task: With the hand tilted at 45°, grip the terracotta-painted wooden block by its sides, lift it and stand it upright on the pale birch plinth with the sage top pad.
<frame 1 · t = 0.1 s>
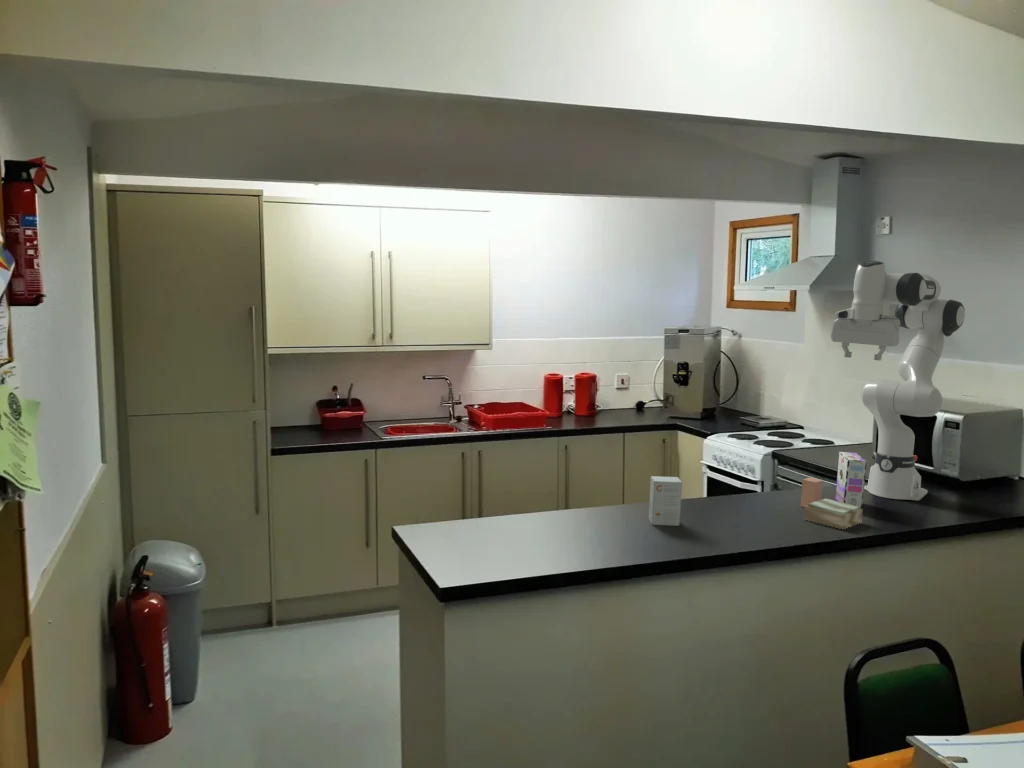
hand: (862, 358, 251), 48 cm above the worktop, tool pointing down, fingers open, 8 cm apart
terracotta block: (810, 507, 257), on the worktop
small box: (663, 523, 234), on the worktop
candy box: (848, 506, 261), on the worktop
birch plinth: (832, 521, 242), on the worktop
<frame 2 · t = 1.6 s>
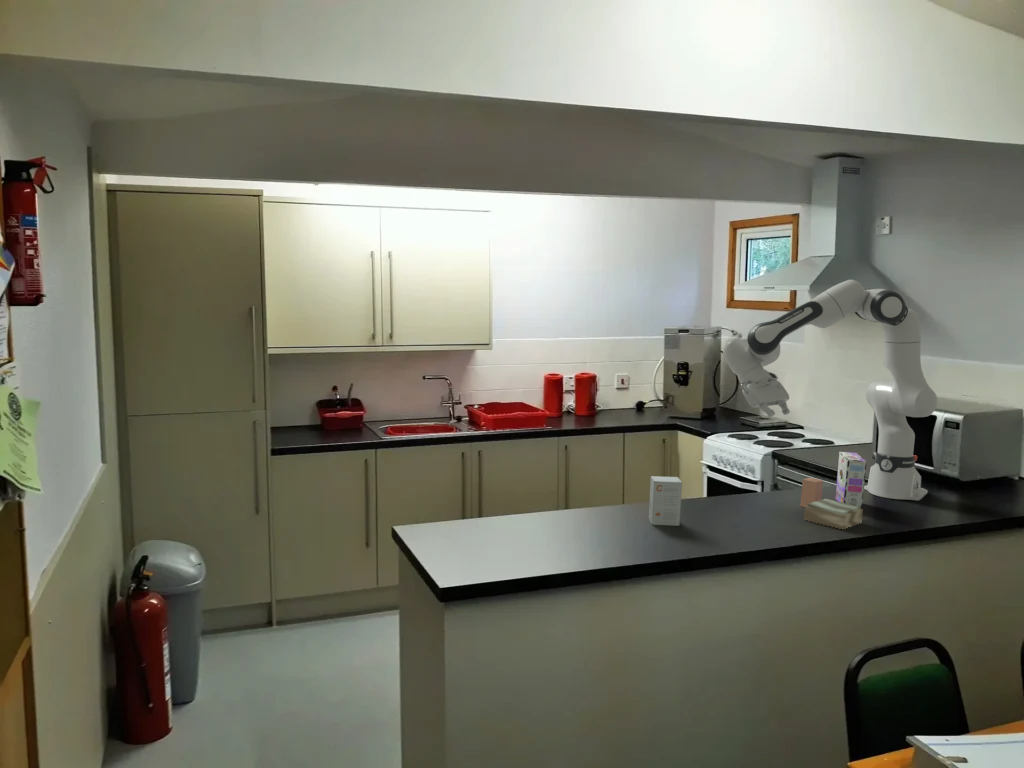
hand: (780, 414, 263), 28 cm above the worktop, tool tilted 45°, fingers open, 8 cm apart
nothing on the worktop moved.
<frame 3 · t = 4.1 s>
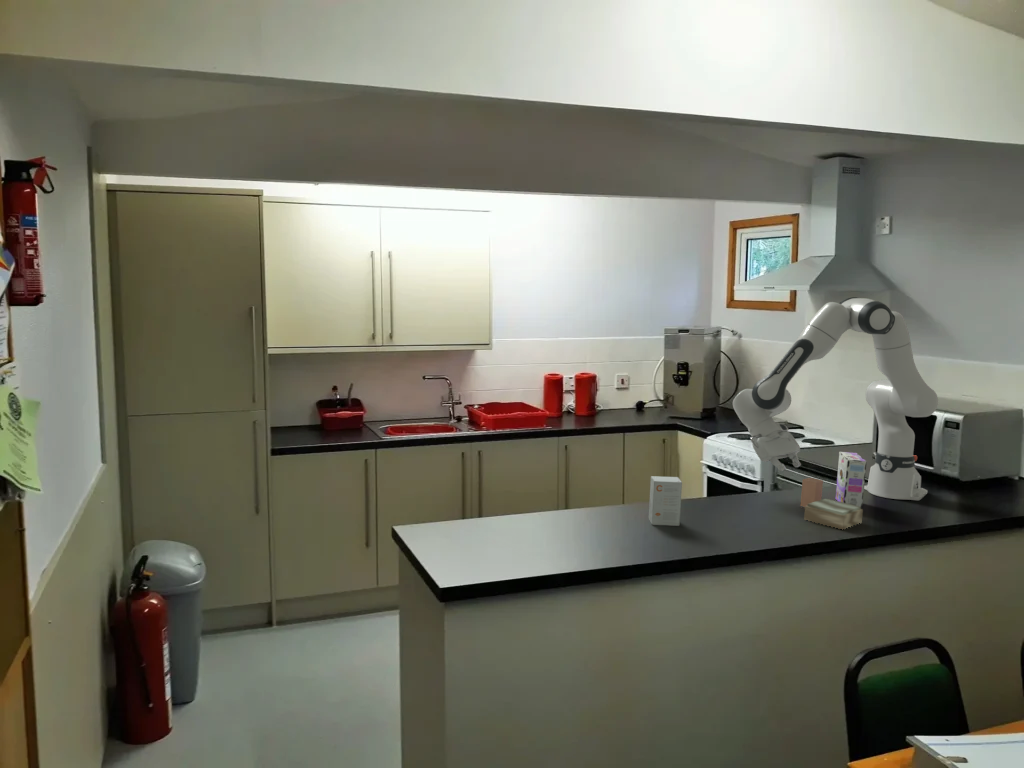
hand: (790, 468, 261), 11 cm above the worktop, tool tilted 45°, fingers open, 8 cm apart
nothing on the worktop moved.
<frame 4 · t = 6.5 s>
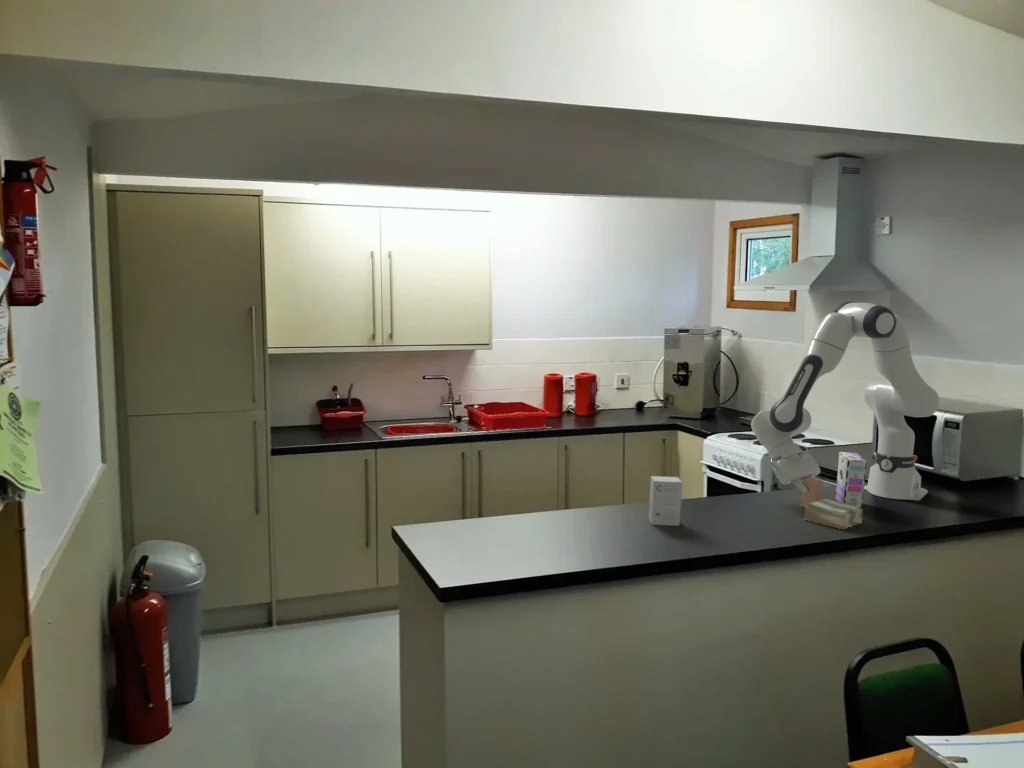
hand: (811, 490, 256), 5 cm above the worktop, tool tilted 45°, fingers closed on terracotta block, 4 cm apart
terracotta block: (810, 507, 257), on the worktop, touching gripper
everything else where it was.
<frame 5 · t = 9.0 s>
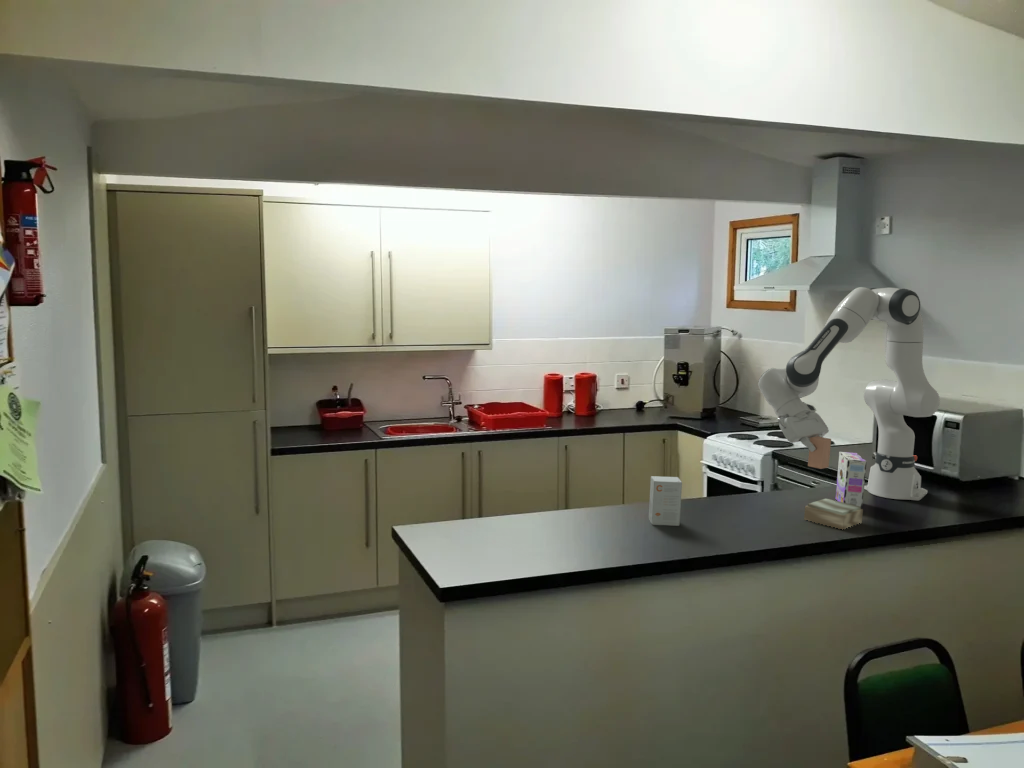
hand: (819, 449, 251), 19 cm above the worktop, tool tilted 45°, fingers closed on terracotta block, 4 cm apart
terracotta block: (818, 466, 252), point 14 cm above the worktop, touching gripper
everything else where it was.
when the fingers open (12 cm above the worktop, at t = 11.8 s): terracotta block drops 1 cm, resting on birch plinth.
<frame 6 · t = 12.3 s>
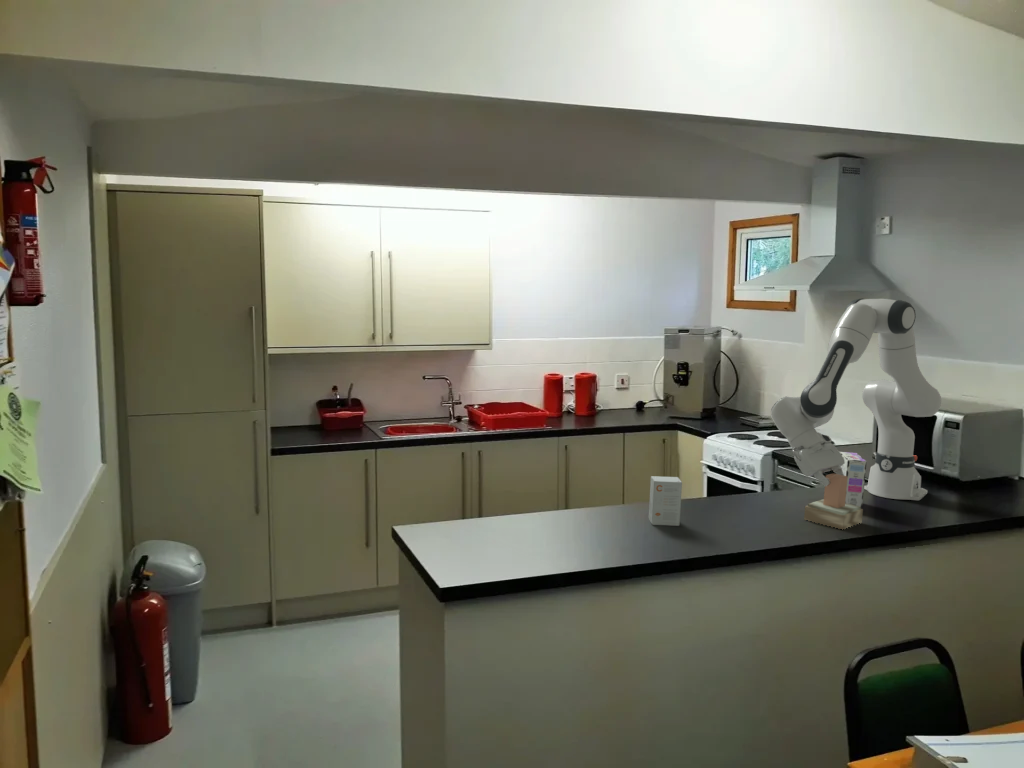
hand: (835, 482, 241), 12 cm above the worktop, tool tilted 45°, fingers open, 8 cm apart
terracotta block: (834, 505, 241), point 5 cm above the worktop, touching birch plinth
everything else where it was.
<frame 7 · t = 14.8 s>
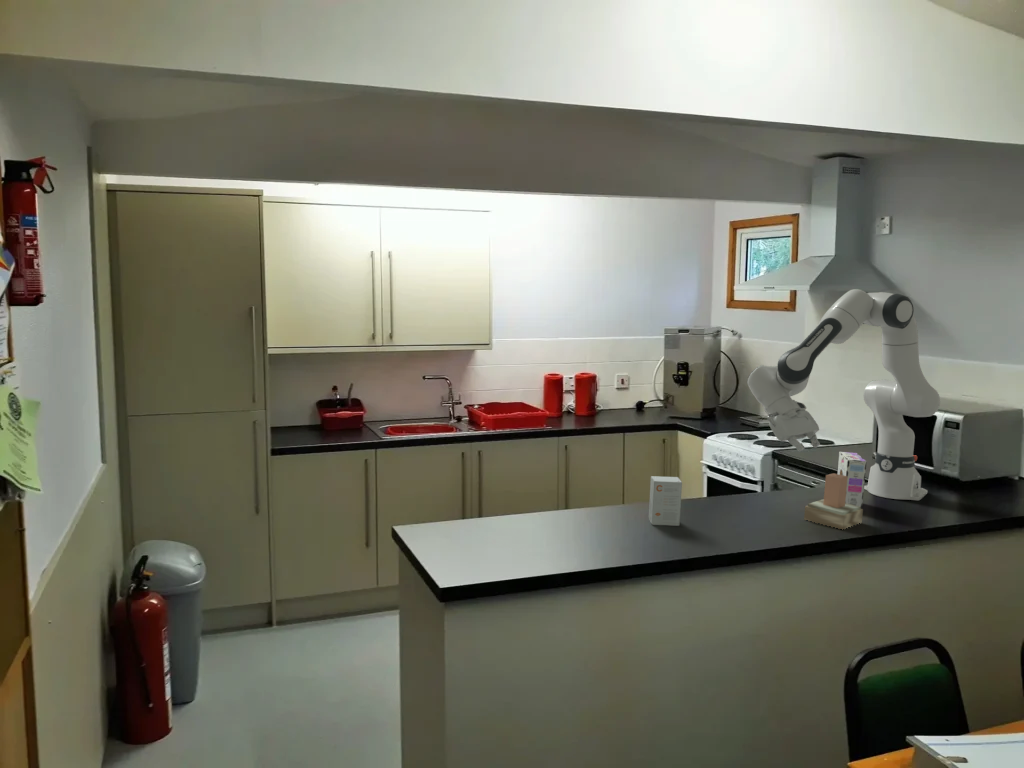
hand: (809, 448, 246), 21 cm above the worktop, tool tilted 45°, fingers open, 8 cm apart
nothing on the worktop moved.
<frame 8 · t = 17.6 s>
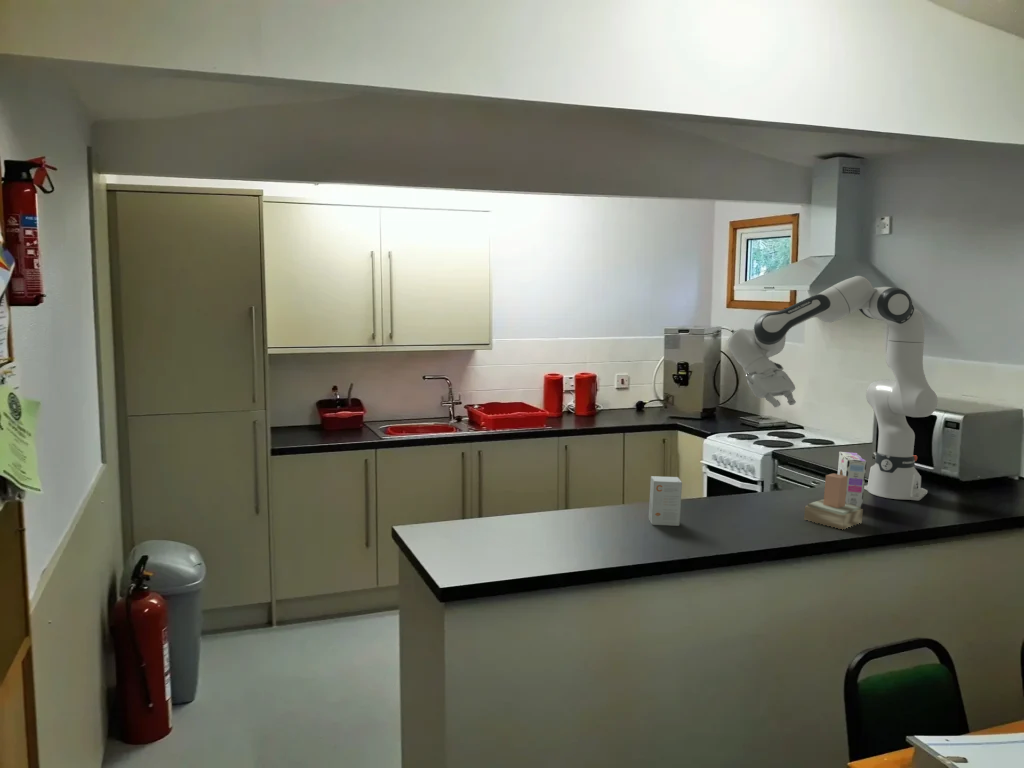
hand: (785, 405, 261), 31 cm above the worktop, tool tilted 45°, fingers open, 8 cm apart
nothing on the worktop moved.
at the end: terracotta block inside the target area on the birch plinth (0.1 cm from its centre), point 5.0 cm above the birch plinth's base; terracotta block tilted 0°; the gripper is holding nothing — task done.
